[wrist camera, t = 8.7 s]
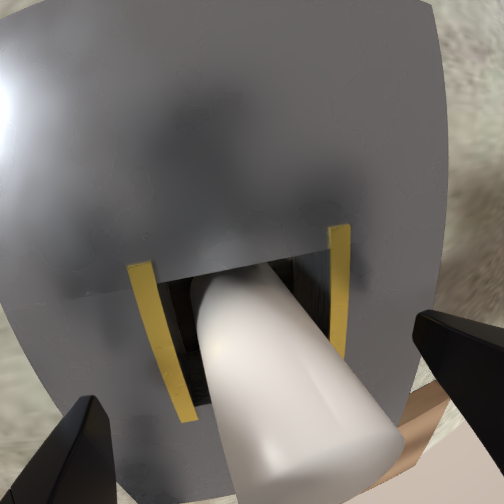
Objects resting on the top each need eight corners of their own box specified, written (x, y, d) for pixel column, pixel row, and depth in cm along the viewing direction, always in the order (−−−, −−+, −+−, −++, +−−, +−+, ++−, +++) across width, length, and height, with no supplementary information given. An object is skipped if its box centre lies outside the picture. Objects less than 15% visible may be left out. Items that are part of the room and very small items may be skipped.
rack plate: (372, 403, 17) (398, 436, 14) (138, 463, 14) (141, 508, 11) (386, 23, 9) (439, 6, 6) (2, 59, 6) (-44, 42, 4)
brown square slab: (404, 451, 22) (414, 465, 20) (304, 495, 20) (312, 512, 18) (434, 380, 18) (451, 396, 16) (308, 436, 16) (321, 460, 14)
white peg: (278, 317, 12) (385, 484, 5) (198, 335, 12) (251, 532, 5) (272, 242, 11) (423, 403, 4) (182, 259, 11) (226, 477, 3)
